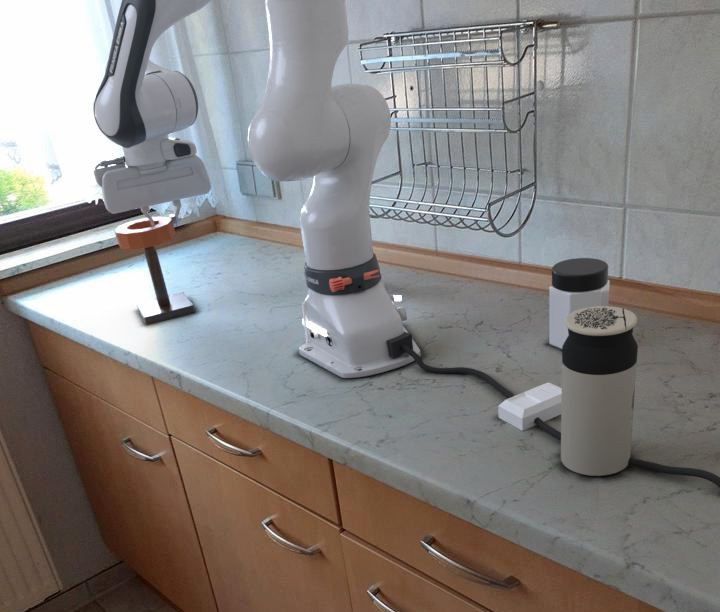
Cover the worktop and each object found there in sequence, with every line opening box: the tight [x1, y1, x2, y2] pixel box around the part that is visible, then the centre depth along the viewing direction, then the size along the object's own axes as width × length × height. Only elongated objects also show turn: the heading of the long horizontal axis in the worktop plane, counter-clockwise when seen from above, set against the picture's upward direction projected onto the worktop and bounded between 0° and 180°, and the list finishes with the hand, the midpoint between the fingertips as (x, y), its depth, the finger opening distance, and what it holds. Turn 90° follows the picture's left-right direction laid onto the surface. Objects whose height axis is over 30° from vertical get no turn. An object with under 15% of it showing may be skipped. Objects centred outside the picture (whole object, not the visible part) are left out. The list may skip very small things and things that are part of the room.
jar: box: [548, 257, 611, 350], centre depth 121 cm, size 9×8×12 cm
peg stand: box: [136, 246, 196, 325], centre depth 158 cm, size 10×10×14 cm
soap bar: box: [497, 382, 562, 432], centre depth 106 cm, size 5×9×3 cm, turn 120°
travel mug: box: [560, 305, 639, 477], centre depth 90 cm, size 8×8×18 cm
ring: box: [114, 215, 177, 250], centre depth 153 cm, size 11×11×3 cm
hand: (166, 226), depth 154 cm, fingers closed on ring, 2 cm apart
